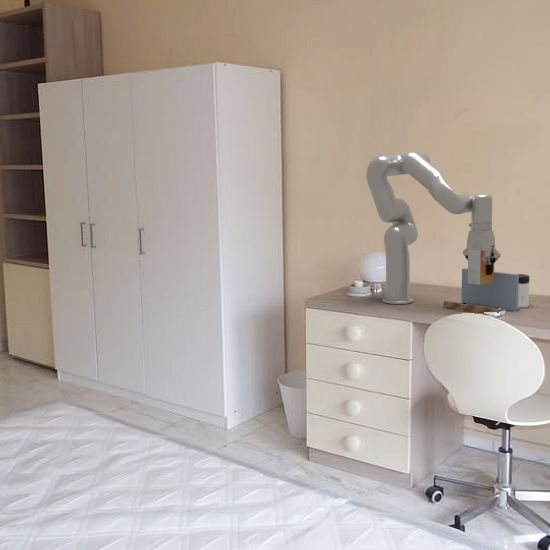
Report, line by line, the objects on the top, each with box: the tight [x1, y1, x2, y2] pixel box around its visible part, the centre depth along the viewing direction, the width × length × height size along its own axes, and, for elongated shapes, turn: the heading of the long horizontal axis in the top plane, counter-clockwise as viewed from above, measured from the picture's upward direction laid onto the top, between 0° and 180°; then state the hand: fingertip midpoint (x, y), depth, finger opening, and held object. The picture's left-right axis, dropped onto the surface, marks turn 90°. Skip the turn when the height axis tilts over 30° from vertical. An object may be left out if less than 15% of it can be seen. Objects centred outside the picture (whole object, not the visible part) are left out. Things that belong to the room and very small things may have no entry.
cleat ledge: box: [443, 300, 502, 314], centre depth 272 cm, size 24×2×2 cm, turn 41°
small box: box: [467, 250, 495, 285], centre depth 273 cm, size 8×6×13 cm
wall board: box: [460, 267, 521, 312], centre depth 279 cm, size 24×3×14 cm, turn 41°
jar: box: [518, 273, 531, 309], centre depth 279 cm, size 9×8×12 cm
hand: (480, 273), depth 273 cm, fingers closed on small box, 6 cm apart
